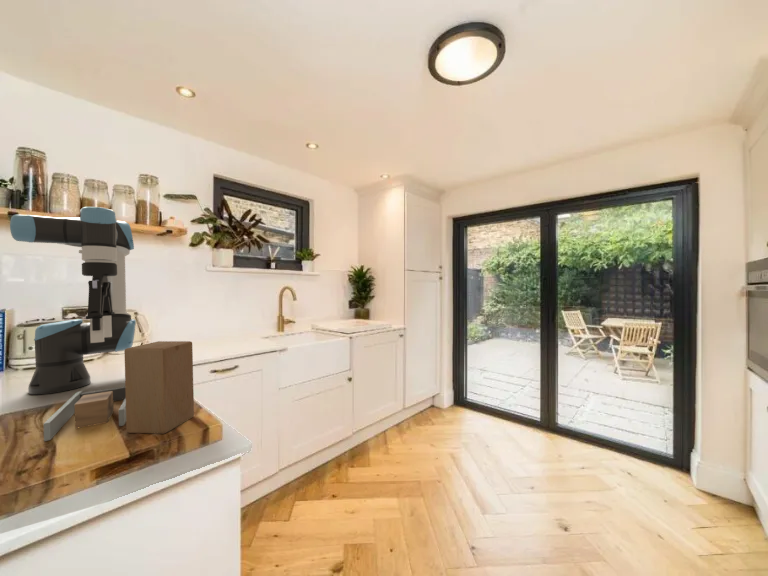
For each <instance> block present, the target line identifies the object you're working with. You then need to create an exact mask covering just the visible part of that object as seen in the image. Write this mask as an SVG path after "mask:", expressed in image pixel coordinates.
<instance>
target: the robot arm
mask: <svg viewBox="0 0 768 576" xmlns="http://www.w3.org/2000/svg"><path fill="white" fill-rule="evenodd" d="M79 216H80V217H79ZM79 216H78V217H77V216H76V217H73V216H71V217H53V216H44V215H43V216H42V215H32V214H13V215H12V216H11V217H10V222H9V229H10V230H9V231H10V235H11V236H12V237H11V238H13V240H15V241H16V242H24V243H25V242H26V243H32V244H33V243H37V244H38V243H39V244H40V243H41V244H43V243H44V244H58V245H65V246H70V247H77V248H81V249H79V250H78V254H81V260H82V261H84V262H82V263H81V274H82V275H83V276H85V277H91V280H88V283H87V284H88V299H87V300H88V301H87V302H88V305H87V315H85V319H86V320H89V321H88V322H84V320H83V319H82V318H78V319H77V318H76V319H69V320H63V321H57V322H49V323H45V324H41V325H39V326H37V327H36V328H35V330H34V339H33V341H34V352H35V353H34V357H35V358H34V359H35V360H34V361H35V369H34V373H33V375H32V377H31V379H30V382H29V384H28V386H27V387H28V388H27V391H28V394H29V395H47V394H56V393H61V392H66V391H70V390H71V391H72V390H76V389H79V388H82V387H85V386H87V385H89V384H91V375H90V373H89V371H88V369H87V367H86V365H85V363H84V356H85V355H93V354H94V355H96V354H106V353H112V352H113V353H114V352H116V353H118V352H120V351H125V349H127V348H131V347H133V344H134V340H135V339H134V338H135V334H136V333H135V332H136V323H137V320H136V319H133V318H132V314H130V313H128V312H127V298H126V297H127V295H126V293H127V291H126V290H127V289H126V287H127V286H126V257H127V256H128V255H130V253H131V252H130V251H132V250H134V249H135V245H134V239H133V238H134V237H133V233H132V229H131V225H130V224H129V223H128V222H126V221H122V220H117V218H116V212H115V211H114V210H113V209H109V208H107V207H100V206H99V207H98V206H83V207H82V208H81V209H80V215H79Z"/></svg>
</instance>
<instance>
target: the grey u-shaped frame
mask: <svg viewBox="0 0 768 576" xmlns="http://www.w3.org/2000/svg"><path fill="white" fill-rule="evenodd" d="M108 391H113V402H116V401H122V404H121V405H120V406H119V409H118V427H122V426H125V424H126V391H125V386H118V387H112V388H104V389H98V390H91V391H85V392H83V390H80V391H76V392H75V393H74V394H73V395H72V396H70V398H69V399H68V400H67V401H65V403H64V404H63V405H62V406H60V408H59V409H57V410H56V411H55V412H54V413H53V414H51V416H50V417H48V419H46V420H45V421H44V422H43V442H47V441H51V440H52V439H53V438H54V436H55V435H57V433H58V432H59V431H60V430H61V429H62V428H63V427H64V426H65V424H66V423H67V422H68V421H69V420H70V419H71V417H72V416H73V415H75V404H76V403H77V401H78V400H79V399H80V398H81V397H82V396H83V395H89V394H95V393H102V392H108ZM61 427H62V428H61Z"/></svg>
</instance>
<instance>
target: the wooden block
mask: <svg viewBox="0 0 768 576" xmlns="http://www.w3.org/2000/svg"><path fill="white" fill-rule="evenodd" d="M123 351H124V381H125V384H124V385H125V391H126V422H125V424H126V433H131V434H134V433H135V434H160V435H161V434H162V435H163V434H166V433H168V432H170V431H172V430H174V429H175V428H177V427H179V426H180V425H182V424H183V423H185V422H187V421H189V420H190V419H191V418H193V417H194V415H195V404H194V403H195V402H194V401H195V398H194V396H195V395H194V361H193V360H194V359H193V357H194V356H193V342H192V341H188V340H187V341H186V340H183V341H181V340H178V341H176V340H175V341H172V340H171V341H165V340H164V341H162V340H161V341H160V340H159V341H155V342H150V343H144V344H141V345H136V346H132V347H131V348H127V349H125V350H123Z"/></svg>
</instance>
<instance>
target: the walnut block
mask: <svg viewBox="0 0 768 576" xmlns="http://www.w3.org/2000/svg"><path fill="white" fill-rule="evenodd" d="M113 413H114V401H113V391H108V392H102V393H95V394H89V395H83V396H82V397H81V398H80V399H79V400H78V401H77V403H76V404H75V413H74V428H75V429H79V428H78V427H80V428H84V426H85V427H89V426H88V425H91V426H95V425H94V424H96V425H100V424H101V425H102V424H106V423H108V422H109V420H110V419H111V417H112V415H113Z"/></svg>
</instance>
